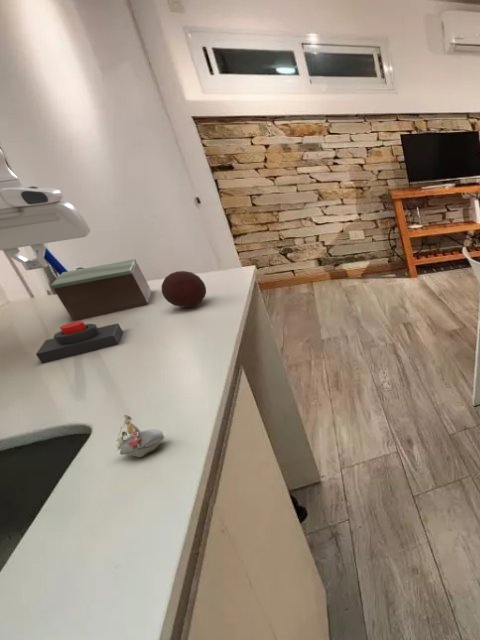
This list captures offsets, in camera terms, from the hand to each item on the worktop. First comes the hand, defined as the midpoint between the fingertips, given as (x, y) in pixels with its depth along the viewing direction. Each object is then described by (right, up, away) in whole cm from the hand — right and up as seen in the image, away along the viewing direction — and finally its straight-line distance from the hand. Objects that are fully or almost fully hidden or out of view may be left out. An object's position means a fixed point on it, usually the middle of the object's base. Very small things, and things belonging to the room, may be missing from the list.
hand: (37, 268), depth 96 cm
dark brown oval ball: (+8, -6, +28) cm, 29 cm away
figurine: (+49, -30, -28) cm, 64 cm away
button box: (+1, -16, +8) cm, 18 cm away
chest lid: (-17, +2, +28) cm, 33 cm away
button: (+1, -13, +6) cm, 14 cm away
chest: (-17, -5, +32) cm, 37 cm away
